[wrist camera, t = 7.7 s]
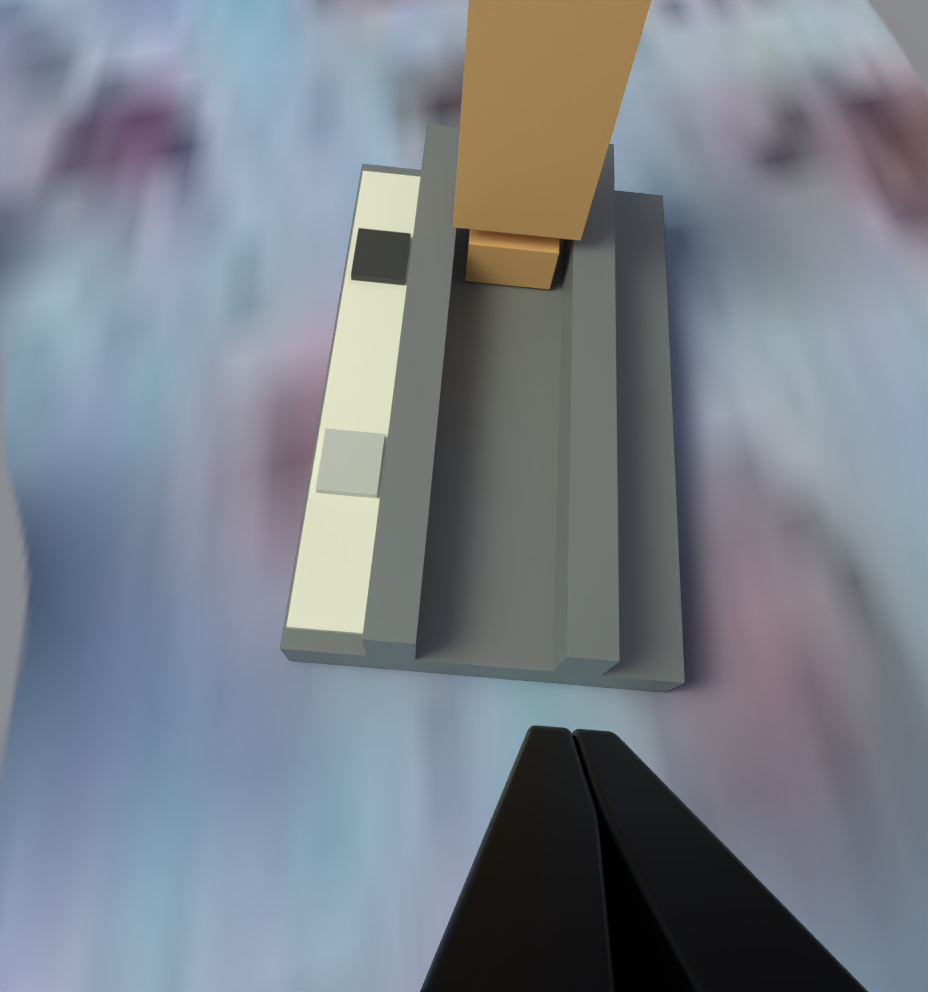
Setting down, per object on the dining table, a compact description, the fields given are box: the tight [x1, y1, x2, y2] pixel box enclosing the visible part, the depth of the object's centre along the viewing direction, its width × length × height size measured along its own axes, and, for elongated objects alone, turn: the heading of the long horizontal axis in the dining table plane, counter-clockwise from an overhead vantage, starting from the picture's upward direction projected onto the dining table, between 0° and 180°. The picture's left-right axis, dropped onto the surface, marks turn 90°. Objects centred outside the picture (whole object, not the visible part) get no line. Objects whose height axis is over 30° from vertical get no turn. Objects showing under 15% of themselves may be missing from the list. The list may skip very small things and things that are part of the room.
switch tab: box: [453, 0, 651, 289], centre depth 18 cm, size 2×4×11 cm, turn 86°
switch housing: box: [280, 124, 685, 692], centre depth 22 cm, size 16×10×3 cm, turn 176°
